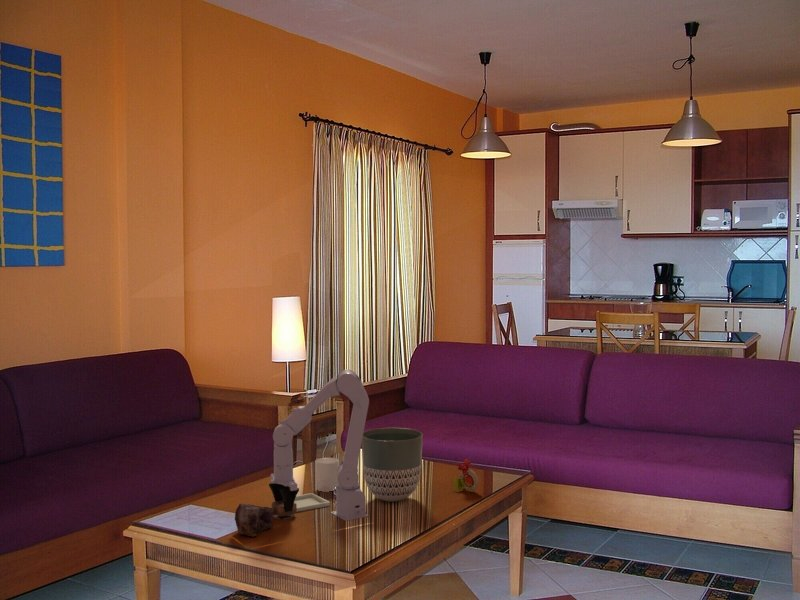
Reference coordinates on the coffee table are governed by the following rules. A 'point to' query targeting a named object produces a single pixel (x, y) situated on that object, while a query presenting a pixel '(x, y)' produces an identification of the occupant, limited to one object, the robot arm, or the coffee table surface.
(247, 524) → the rock
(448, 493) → the coffee table surface
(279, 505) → the brown square frame
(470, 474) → the bird rattle
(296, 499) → the tray
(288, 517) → the grey knobbed lid
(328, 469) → the white cup
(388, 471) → the planter
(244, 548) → the coffee table surface
